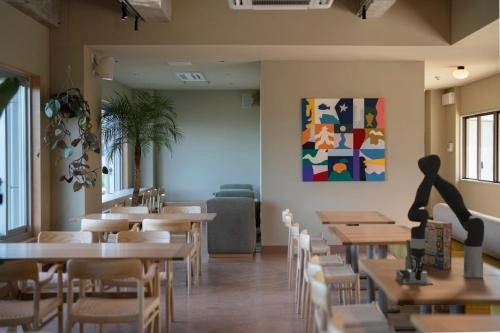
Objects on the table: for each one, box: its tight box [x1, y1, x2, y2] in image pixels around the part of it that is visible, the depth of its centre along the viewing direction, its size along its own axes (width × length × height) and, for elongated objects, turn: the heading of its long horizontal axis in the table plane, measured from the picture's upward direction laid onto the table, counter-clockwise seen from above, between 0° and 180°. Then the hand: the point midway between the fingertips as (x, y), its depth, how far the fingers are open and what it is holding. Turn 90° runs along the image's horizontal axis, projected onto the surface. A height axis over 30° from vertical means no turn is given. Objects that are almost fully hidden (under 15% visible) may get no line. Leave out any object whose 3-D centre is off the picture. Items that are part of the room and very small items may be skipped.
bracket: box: [404, 238, 414, 270], centre depth 313 cm, size 28×7×20 cm, turn 152°
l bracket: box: [407, 269, 428, 282], centre depth 287 cm, size 9×7×5 cm
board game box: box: [421, 219, 453, 270], centre depth 326 cm, size 20×6×27 cm, turn 23°
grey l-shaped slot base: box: [395, 269, 433, 286], centre depth 288 cm, size 16×13×5 cm
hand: (417, 278), depth 285 cm, fingers open, 4 cm apart
